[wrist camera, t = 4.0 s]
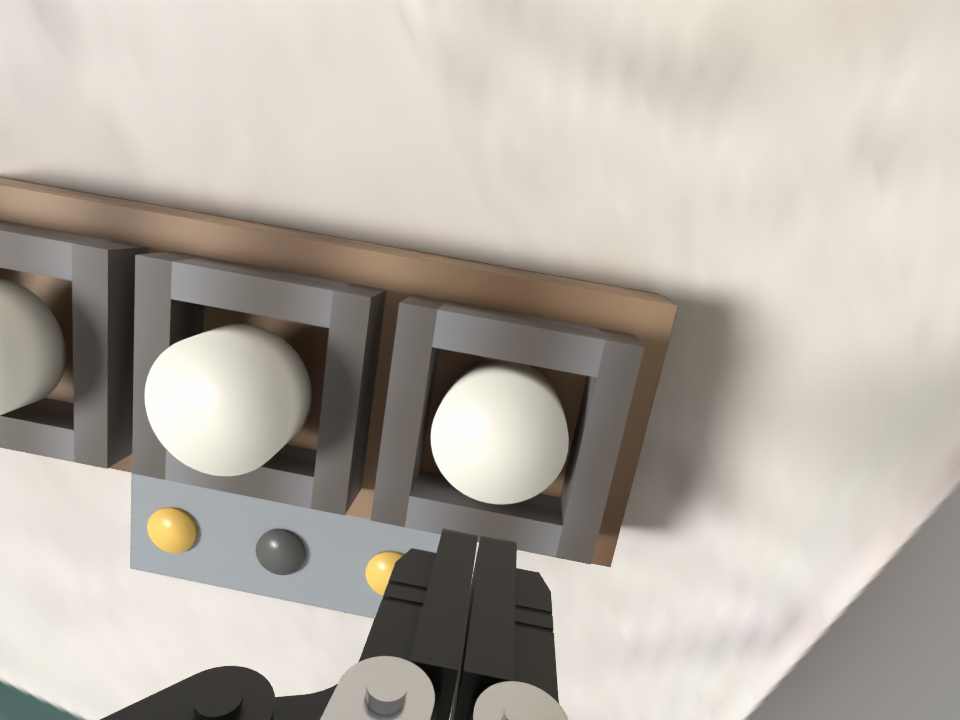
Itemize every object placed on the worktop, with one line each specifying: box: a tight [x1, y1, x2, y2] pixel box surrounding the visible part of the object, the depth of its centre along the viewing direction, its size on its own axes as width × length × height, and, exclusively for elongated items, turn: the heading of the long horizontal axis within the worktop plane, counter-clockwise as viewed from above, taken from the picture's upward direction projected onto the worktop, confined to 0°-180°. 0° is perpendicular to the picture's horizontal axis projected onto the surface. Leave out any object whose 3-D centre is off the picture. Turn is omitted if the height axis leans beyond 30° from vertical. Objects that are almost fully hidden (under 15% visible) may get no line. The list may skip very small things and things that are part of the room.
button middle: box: [145, 324, 312, 476], centre depth 18 cm, size 4×4×2 cm
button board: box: [0, 177, 678, 567], centre depth 21 cm, size 27×10×5 cm, turn 80°
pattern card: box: [130, 474, 441, 619], centre depth 26 cm, size 14×5×1 cm, turn 80°
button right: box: [431, 360, 569, 504], centre depth 19 cm, size 4×4×2 cm
